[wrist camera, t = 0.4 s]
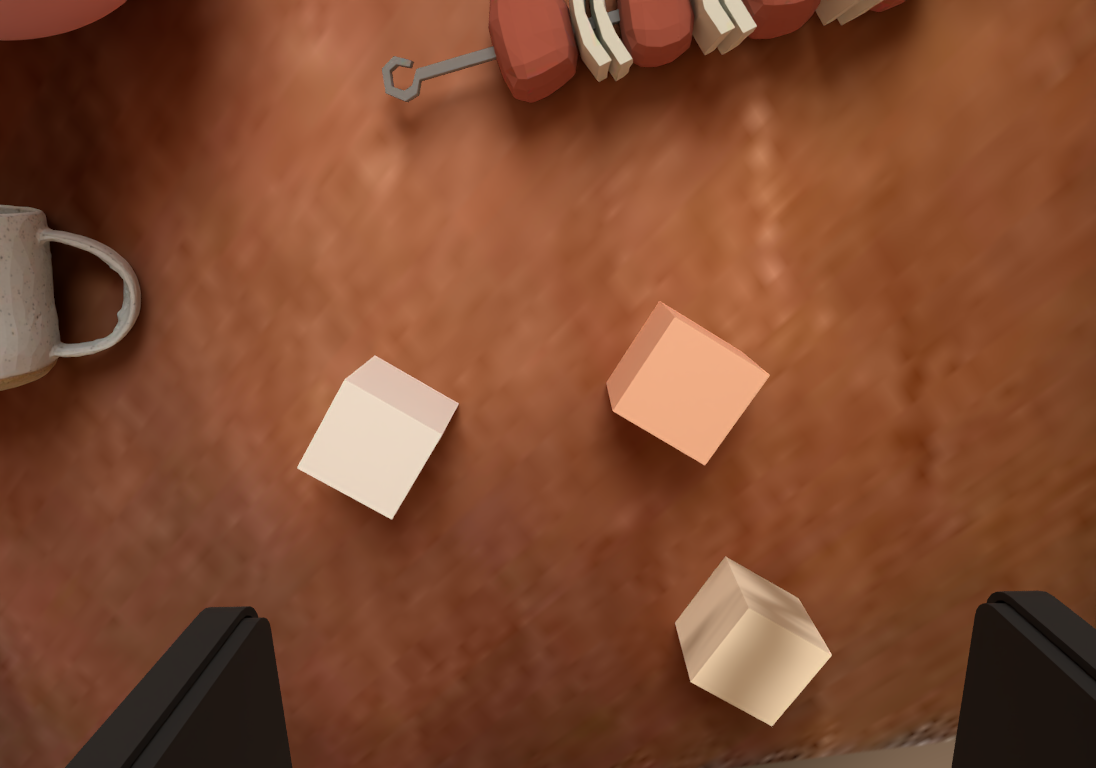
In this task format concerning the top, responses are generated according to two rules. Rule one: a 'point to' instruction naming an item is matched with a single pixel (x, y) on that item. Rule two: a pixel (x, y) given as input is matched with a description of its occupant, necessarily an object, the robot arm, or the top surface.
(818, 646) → the birch block
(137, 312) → the ceramic mug
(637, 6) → the skewer
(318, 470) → the cream block
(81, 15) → the balloon
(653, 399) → the terracotta block
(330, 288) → the top surface
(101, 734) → the robot arm
